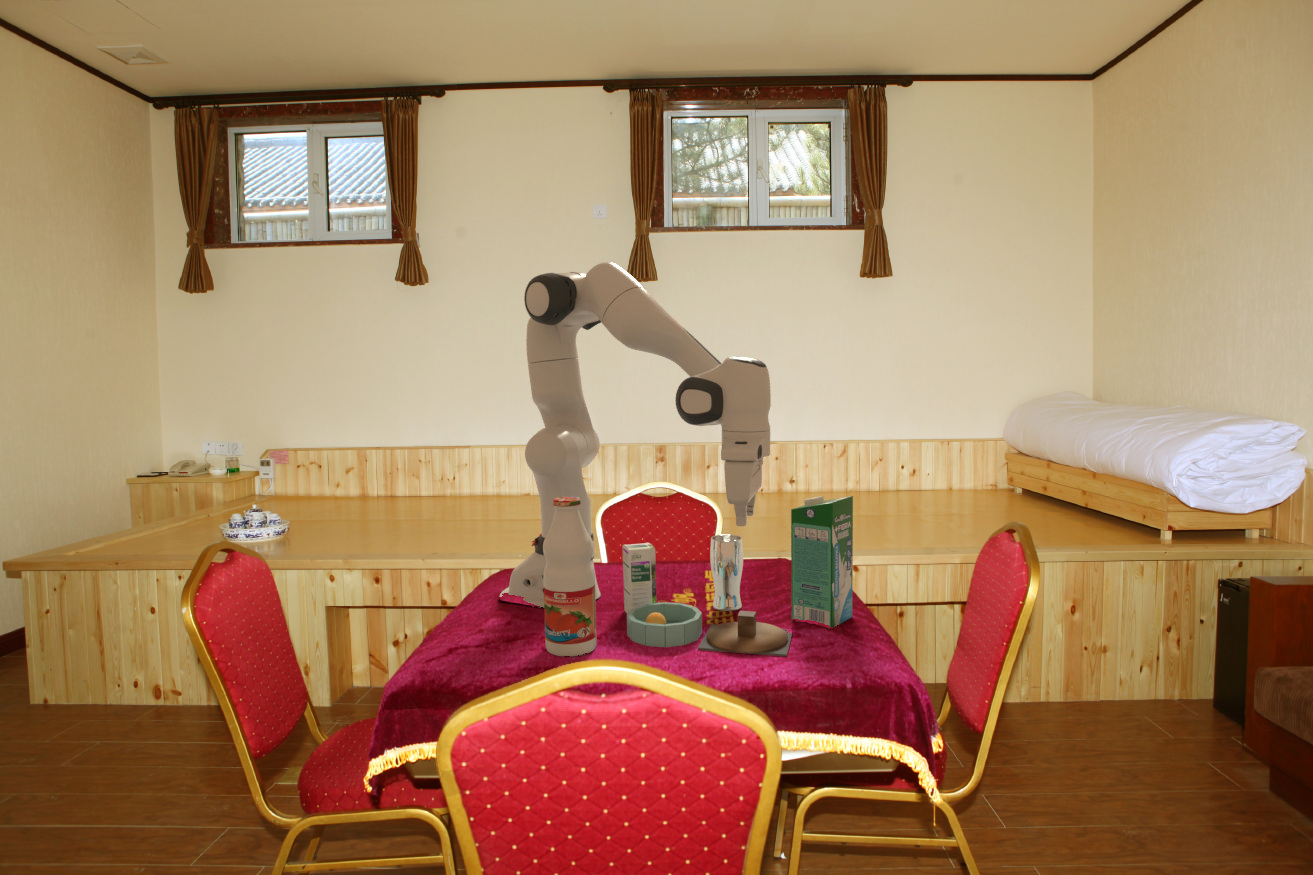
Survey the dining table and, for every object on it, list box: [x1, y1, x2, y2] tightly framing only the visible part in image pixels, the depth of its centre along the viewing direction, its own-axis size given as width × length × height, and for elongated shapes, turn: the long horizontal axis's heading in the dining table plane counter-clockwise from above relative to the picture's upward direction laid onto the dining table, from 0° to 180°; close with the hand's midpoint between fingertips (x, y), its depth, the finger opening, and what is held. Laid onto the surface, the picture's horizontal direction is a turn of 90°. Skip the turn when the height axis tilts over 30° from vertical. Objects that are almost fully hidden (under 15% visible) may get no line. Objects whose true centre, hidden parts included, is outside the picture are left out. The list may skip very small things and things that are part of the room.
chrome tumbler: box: [709, 533, 744, 612], centre depth 168 cm, size 7×7×15 cm
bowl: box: [626, 601, 703, 648], centre depth 152 cm, size 14×14×4 cm
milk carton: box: [790, 495, 854, 628], centre depth 158 cm, size 9×9×25 cm
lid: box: [706, 610, 788, 654], centre depth 148 cm, size 15×15×5 cm
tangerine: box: [645, 612, 666, 624], centre depth 151 cm, size 4×4×4 cm
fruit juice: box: [543, 496, 598, 657], centre depth 144 cm, size 9×9×28 cm
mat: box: [697, 624, 793, 658], centre depth 148 cm, size 16×13×1 cm
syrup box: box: [622, 542, 658, 615], centre depth 164 cm, size 6×6×14 cm
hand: (745, 520), depth 146 cm, fingers open, 8 cm apart
